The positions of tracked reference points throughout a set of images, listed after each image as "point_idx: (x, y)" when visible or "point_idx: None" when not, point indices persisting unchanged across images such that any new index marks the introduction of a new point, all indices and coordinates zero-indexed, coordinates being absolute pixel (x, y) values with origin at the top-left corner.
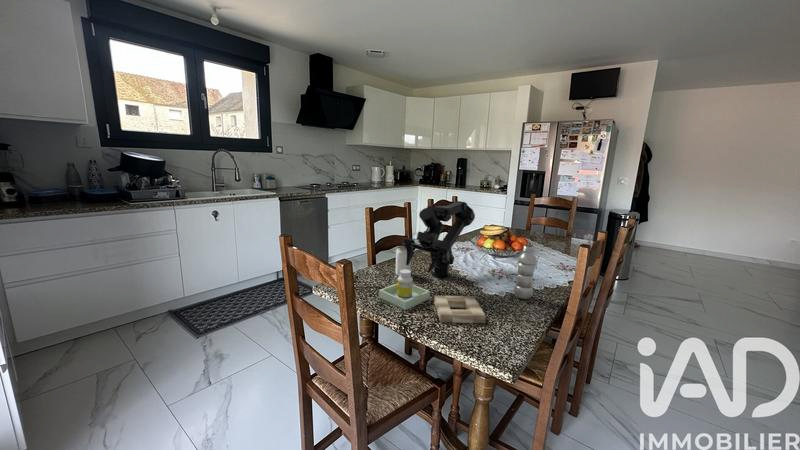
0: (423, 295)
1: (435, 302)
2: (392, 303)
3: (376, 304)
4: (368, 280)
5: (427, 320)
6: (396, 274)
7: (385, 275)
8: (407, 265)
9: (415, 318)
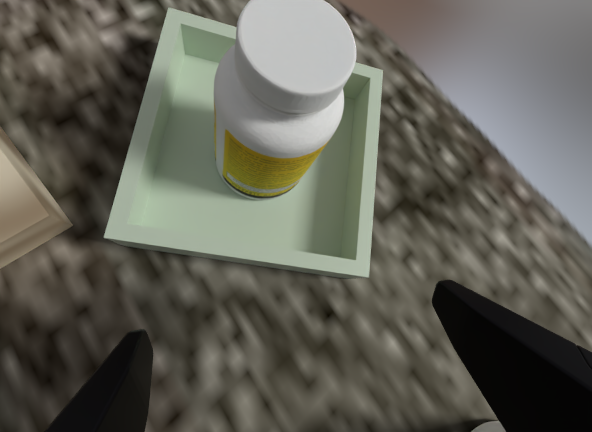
0: (127, 167)
1: (27, 173)
2: None
3: None
4: (536, 235)
5: (9, 10)
6: None
7: None
8: (433, 297)
9: (82, 2)
